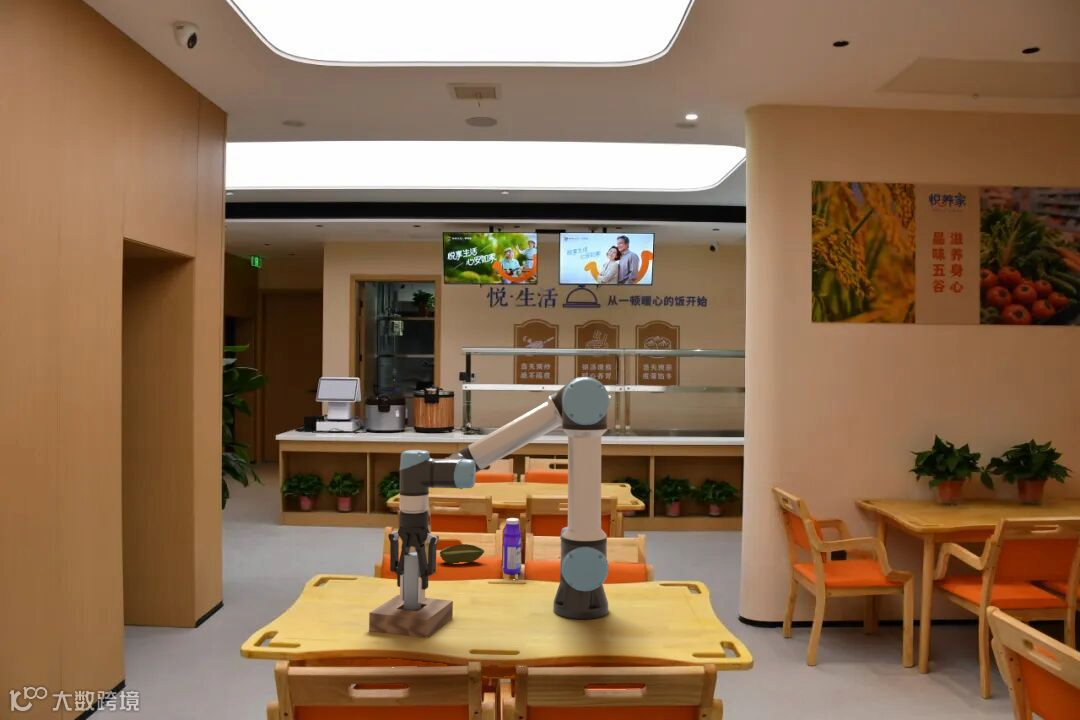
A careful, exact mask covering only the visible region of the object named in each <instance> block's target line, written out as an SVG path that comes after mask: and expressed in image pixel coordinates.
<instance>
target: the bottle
mask: <svg viewBox="0 0 1080 720" xmlns="http://www.w3.org/2000/svg"><path fill="white" fill-rule="evenodd" d="M505 524H506V525H505V529H504V531H503V534H504V537H503V539H502V540H503V543H502V546H503V547H502V551H503V553H502V572H503V574H504V575H506V576H507V575H508V576H515V575H518V574H520V572H521V570H522V536H521V535H522V531H521V530H520V519H519V518H515V517H510V518H507V519H506V523H505Z"/></svg>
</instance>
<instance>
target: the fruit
mask: <svg viewBox="0 0 1080 720" xmlns="http://www.w3.org/2000/svg"><path fill="white" fill-rule="evenodd" d="M484 553H485V550H484V549H483V548H482V547H478V546H477V545H473V544H466V543H463V544H457V545H452V546H451V545H450V546H447V547H445V548H441V550H440V551H439V557H441V559H442V561H443V562H445V563H446V564H449V565H453V563H459V562H470V563H473V562H475V561H477V560H479V558H480V557H482V556H483V554H484Z"/></svg>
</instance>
